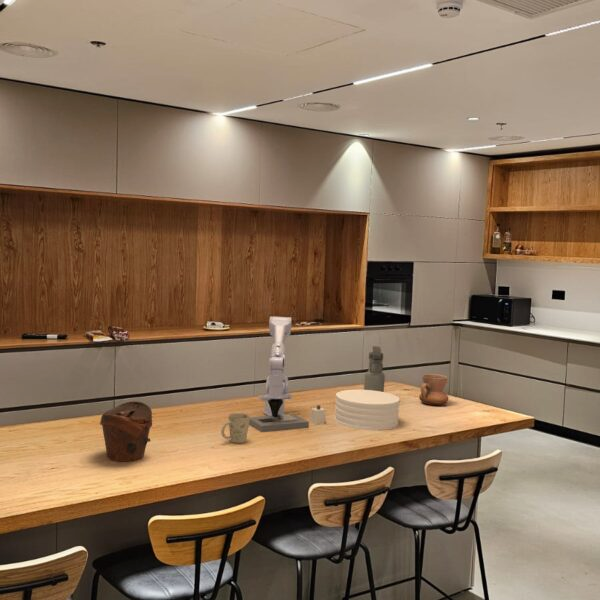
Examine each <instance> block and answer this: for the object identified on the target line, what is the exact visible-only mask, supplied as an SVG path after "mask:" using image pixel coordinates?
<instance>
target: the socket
mask: <svg viewBox="0 0 600 600" xmlns="http://www.w3.org/2000/svg"><path fill="white" fill-rule="evenodd" d="M288 414H289V415H291V416H293V417H294V418H296V419H297V421H286V422H280V421H278V420H276V419H274V418H273V417H272V416H268V415H262V416H250V421H249V425H250V426H251V427H253V428H254V429H256V430H257V431H259V432H260V433H265V432H266V433H267V432H277V431H288V430H297V429H304V428H305V429H306V428H308V429H309V427H310V426H309V425H310V421H308V420H306V419H304V418H303V417H300V416H298V415H297V414H294V413H284V415H288Z"/></svg>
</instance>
